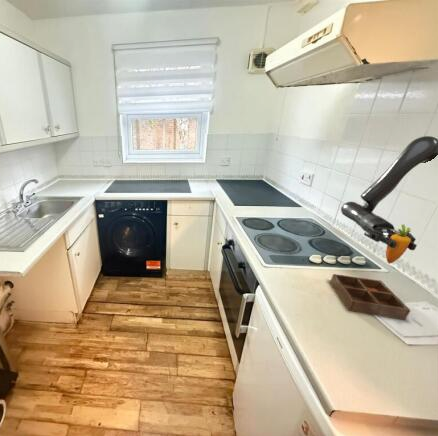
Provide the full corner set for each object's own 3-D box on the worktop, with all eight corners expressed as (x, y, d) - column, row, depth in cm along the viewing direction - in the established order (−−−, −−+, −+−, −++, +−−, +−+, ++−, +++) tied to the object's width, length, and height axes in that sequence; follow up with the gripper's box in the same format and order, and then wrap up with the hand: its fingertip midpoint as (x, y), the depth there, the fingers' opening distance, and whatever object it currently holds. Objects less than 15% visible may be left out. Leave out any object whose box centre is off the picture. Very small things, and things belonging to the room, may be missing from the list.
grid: (376, 289, 90) (381, 280, 88) (405, 320, 76) (410, 310, 74) (329, 282, 93) (333, 273, 92) (348, 310, 80) (352, 301, 78)
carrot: (398, 269, 83) (418, 230, 77) (379, 263, 86) (396, 226, 80) (398, 263, 86) (416, 225, 80) (379, 258, 89) (396, 221, 83)
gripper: (357, 215, 95) (382, 234, 80) (401, 219, 92) (436, 239, 77) (351, 232, 98) (374, 253, 83) (393, 236, 95) (425, 259, 80)
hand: (404, 246), depth 80 cm, fingers closed on carrot, 4 cm apart
